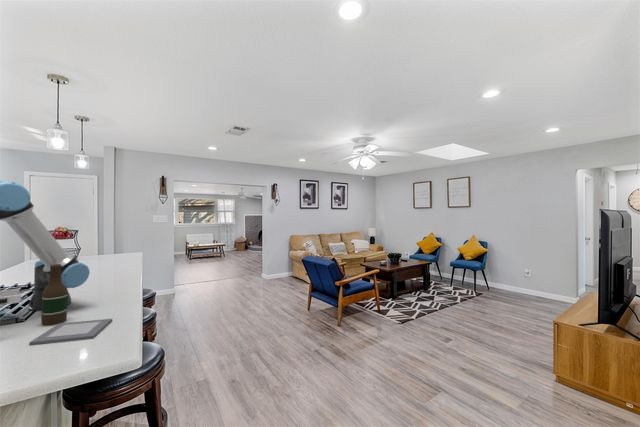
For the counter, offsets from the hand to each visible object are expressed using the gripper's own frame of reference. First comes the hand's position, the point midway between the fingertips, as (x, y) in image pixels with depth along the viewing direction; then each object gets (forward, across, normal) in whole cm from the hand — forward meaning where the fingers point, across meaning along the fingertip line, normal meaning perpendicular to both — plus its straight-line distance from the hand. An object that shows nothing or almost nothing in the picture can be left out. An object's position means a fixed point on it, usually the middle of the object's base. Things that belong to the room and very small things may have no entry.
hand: (20, 294), depth 108 cm
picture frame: (+14, +19, -13) cm, 27 cm away
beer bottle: (+10, 0, -14) cm, 17 cm away
